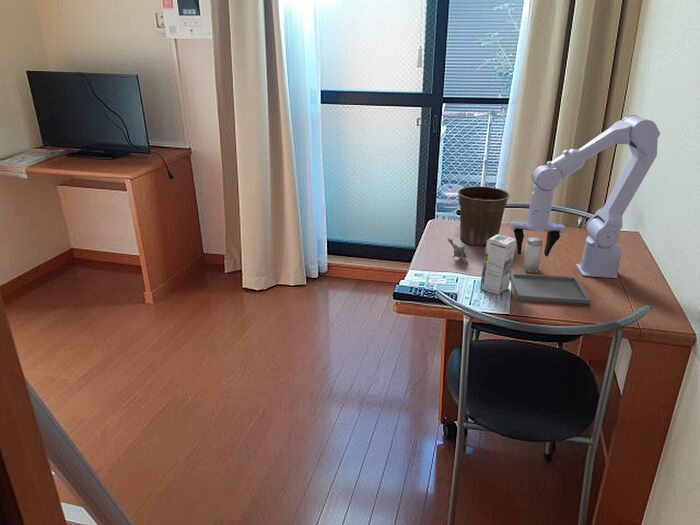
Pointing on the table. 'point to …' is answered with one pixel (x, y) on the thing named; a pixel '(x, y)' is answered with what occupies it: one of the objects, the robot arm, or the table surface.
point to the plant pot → (481, 213)
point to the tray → (548, 289)
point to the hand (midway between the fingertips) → (532, 254)
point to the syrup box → (497, 264)
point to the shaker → (532, 254)
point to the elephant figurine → (459, 251)
